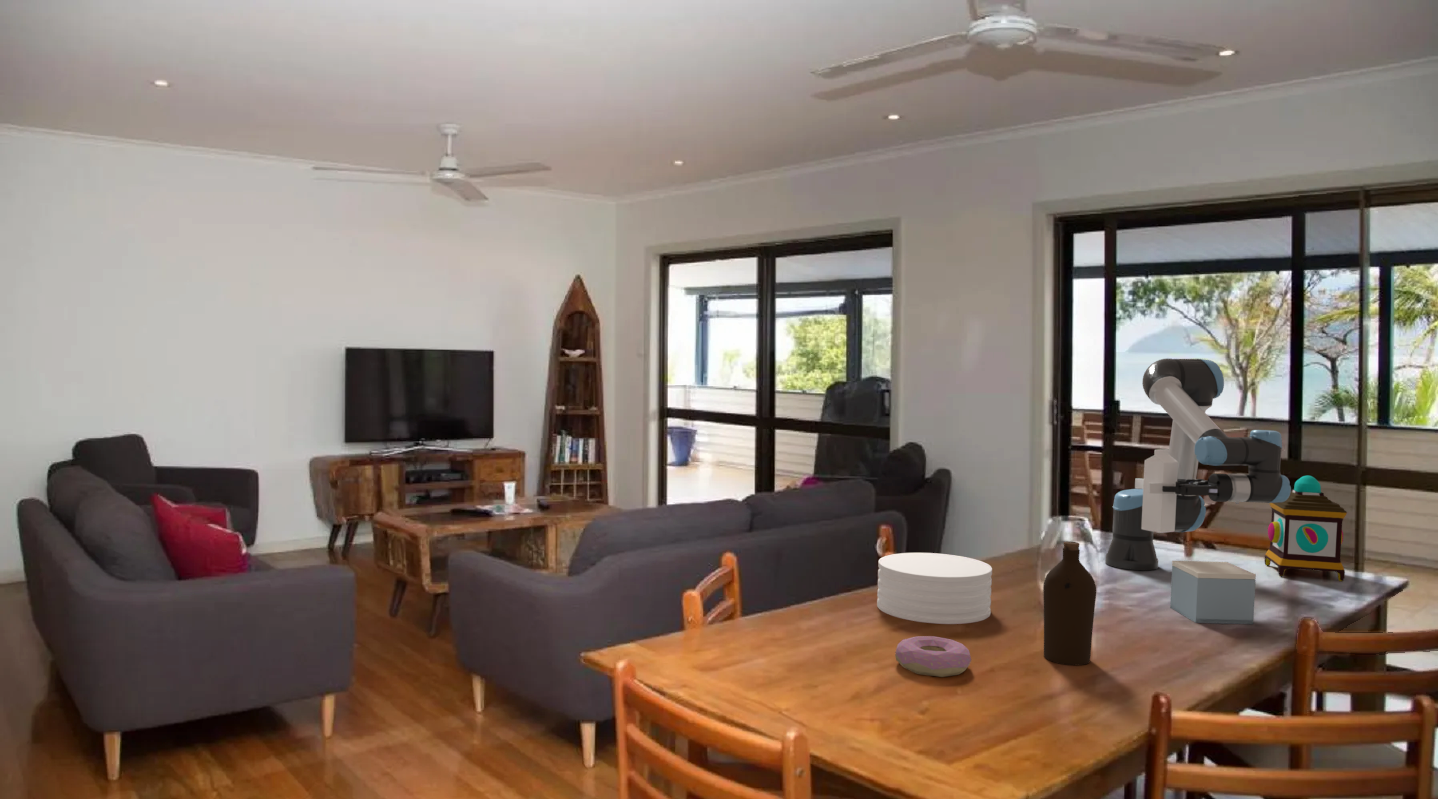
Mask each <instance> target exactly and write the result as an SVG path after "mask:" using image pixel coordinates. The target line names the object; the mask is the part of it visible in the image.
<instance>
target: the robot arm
mask: <svg viewBox="0 0 1438 799" xmlns="http://www.w3.org/2000/svg"><path fill="white" fill-rule="evenodd" d="M1224 387H1225V378H1224V374H1223V372H1222V369H1221V367H1220V366H1219V365H1218V363H1216V362H1215V361H1213V360H1210V359H1204V358H1162V359H1158V360H1156V361H1153V363H1151V364H1150V365H1149V366H1148V367H1147V368H1146V370H1145V372H1144V374H1143V376H1142V389H1143V391H1144V393H1145V395H1146V397H1147V398H1148V399H1149V400H1150V401H1151V402H1152V403H1154V404H1155V405H1159V406H1160V407H1161V408H1162V409H1163V410H1164V411H1165V412H1166V414H1168V416H1169V417H1170V418H1171V419H1172V425H1171V432H1170V438H1169V446H1168V449H1169V455H1170V456H1171V457H1173V458H1174V459H1175V460H1176V461H1178V474H1177V482H1176V486H1175V484H1174V483H1149V488H1148V493H1154V494H1174V492H1175V494H1176V515H1175V531H1174V532H1173V533H1186V532H1194V531H1196V530H1197V529H1198V528H1200V527H1201V526H1202V525H1203V523H1204V520H1205V517H1206V514H1207V508H1206V506H1205V503H1206V502H1205V500H1204V498H1203V497H1202V496H1208V497H1209V500H1211V501H1212V502H1216V503H1217V502H1219V503H1220V502H1223V503H1224V502H1231V503H1232V502H1233V503H1235V505H1239V504H1240V502H1241V503H1242V502H1243V503H1262V504H1263V503H1264V504H1265V503H1266V504H1269V503H1276V502H1284V501H1286V500H1287V499H1288V498H1289V496H1290V492H1291V489H1292V487H1291V485H1290V483H1291V482H1290V480H1289V478H1288V477H1287V476H1286V475H1284V474H1281V460H1282V450H1283V440H1282V438H1283V437H1282V434H1281V433H1280V432H1279V431H1277V430H1272V429H1271V430H1270V429H1252V430H1251V431H1249V436H1247V437H1246V436H1243V437H1239V436H1236V437H1235V436H1234V437H1232V436H1228V435H1227V434H1226V432H1224V431H1223V430H1222V429H1221V428H1220V427H1219V426H1218V425H1217V424H1216V423H1215V422H1214V421H1213V419H1212V418H1210V416H1209V415H1208V414H1207V413H1206V411H1207V410H1208V409H1210V408H1211V407H1212V406H1213V400H1214V399H1215V400H1216V399H1217V398H1219V397H1220V396H1221V394H1222V393H1223V390H1224ZM1199 463H1200V464H1202V465H1206V466H1207V465H1209V466H1214V467H1215V466H1216V467H1217V466H1248V473H1247V474H1246V473H1212V474H1210V475H1209V476H1208V479H1207V480H1205V479H1204V478H1203V479H1202V478H1197V474H1198V467H1199ZM1143 484H1144V478H1135V480H1134V488H1131V489H1123V490H1120V491H1118V492H1117V493H1116V494H1115V495H1114V497H1113V498H1114V500H1113V506H1112V508H1113V518H1112V539H1111V542H1110V545H1109V547H1108V550H1107V552H1106V554H1105V558H1104V559H1105V561H1104V563H1105V564H1106V565H1107V566H1111V567H1114V568H1119V569H1125V570H1132V571H1154V570H1157V569H1158V568H1159V559H1158V557H1157V552H1156V549H1155V545H1154V532H1152V531H1148V530H1143V529H1141V527H1142V506H1143Z"/></svg>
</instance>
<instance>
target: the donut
mask: <svg viewBox="0 0 1438 799" xmlns="http://www.w3.org/2000/svg"><path fill="white" fill-rule="evenodd" d="M894 653H895V654H894V657H895V660H896V662H898V663H899V664H900V666H901V667H902V668H903V669H906V670H908V671H910V672H912V673H915V674H917V675H922V676H929V677H930V676H931V677H940V678H945V677H951V676H957V675H958V676H959V675H960V674H962V673H963V672H965V671H966V670H967V669H968V667H970V664H971V662H972V657H971V653H970V650H969V648H968V647H967V646H965V645H964V644H963V643H961V642H958V641H956V640H954V639H949V638H945V637H939V636H934V635H933V636H932V635H928V636H927V635H926V636H925V635H924V636H923V635H922V636H918V635H917V636H913V637H909V638H904V639H902V640H901V641H900V642H899V643H897V645H896V649H895V652H894Z"/></svg>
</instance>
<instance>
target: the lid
mask: <svg viewBox="0 0 1438 799" xmlns="http://www.w3.org/2000/svg"><path fill="white" fill-rule="evenodd" d="M1172 566H1174V567H1177V568H1179V569H1181V570H1183V571H1185V572H1187V573H1189V574H1191V575H1193V576H1195V577H1197V578H1218V579H1255V580H1256V577H1257V576H1256V573H1254V572H1251V571H1248V570H1246V569H1244V568H1242V567H1240V566H1238V565H1235V564H1233V563H1230V562H1228V561H1206V560H1205V561H1204V560H1203V561H1200V560H1196V561H1192V560H1191V561H1190V560H1172V562H1171V567H1172Z"/></svg>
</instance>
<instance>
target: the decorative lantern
mask: <svg viewBox="0 0 1438 799" xmlns="http://www.w3.org/2000/svg"><path fill="white" fill-rule="evenodd" d="M1293 486H1294V488H1291V492H1290V496H1289V498H1288V499H1287V500H1286V501H1284V502H1276V503H1268V505H1269V507H1270V508H1271V519H1270V520H1271V522H1270V523H1269V525H1268V528H1267V536H1268V540H1269V541H1270V542H1269V548H1268V550H1267V551H1266V552H1265V555H1264V564H1265V566H1266V565H1269V566H1270V565H1271V563H1273V564H1274V565H1276V566H1277V568H1278V569H1277V570H1278V576H1279V577H1280V576H1283V577H1284V576H1285V571H1286V570H1289V569H1290V570H1291V569H1293V570H1305V571H1306V570H1307V571H1319V572H1331V573H1333V572H1334V573H1337V580H1338V582H1343V581H1344V580H1345V576H1346V570H1345V567H1344V566H1343V563H1342V561H1341V551H1342V544H1343V542H1344V532H1343V521H1344V519H1345V518H1346V516H1347V514H1348V512H1347V510H1345V508H1344V507H1342V506H1341V505H1340V503H1336V502H1334V501H1332V500H1331V499H1329V498H1328V497H1327V495H1325V494H1324V492H1322V488H1321V487H1322V486H1321V483H1320V482H1319V481H1318V479H1316V478H1315V477H1314V476H1312V475H1303V476H1301V477H1300V478H1298V479H1297V480H1296V481H1295V482H1294V485H1293Z"/></svg>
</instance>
